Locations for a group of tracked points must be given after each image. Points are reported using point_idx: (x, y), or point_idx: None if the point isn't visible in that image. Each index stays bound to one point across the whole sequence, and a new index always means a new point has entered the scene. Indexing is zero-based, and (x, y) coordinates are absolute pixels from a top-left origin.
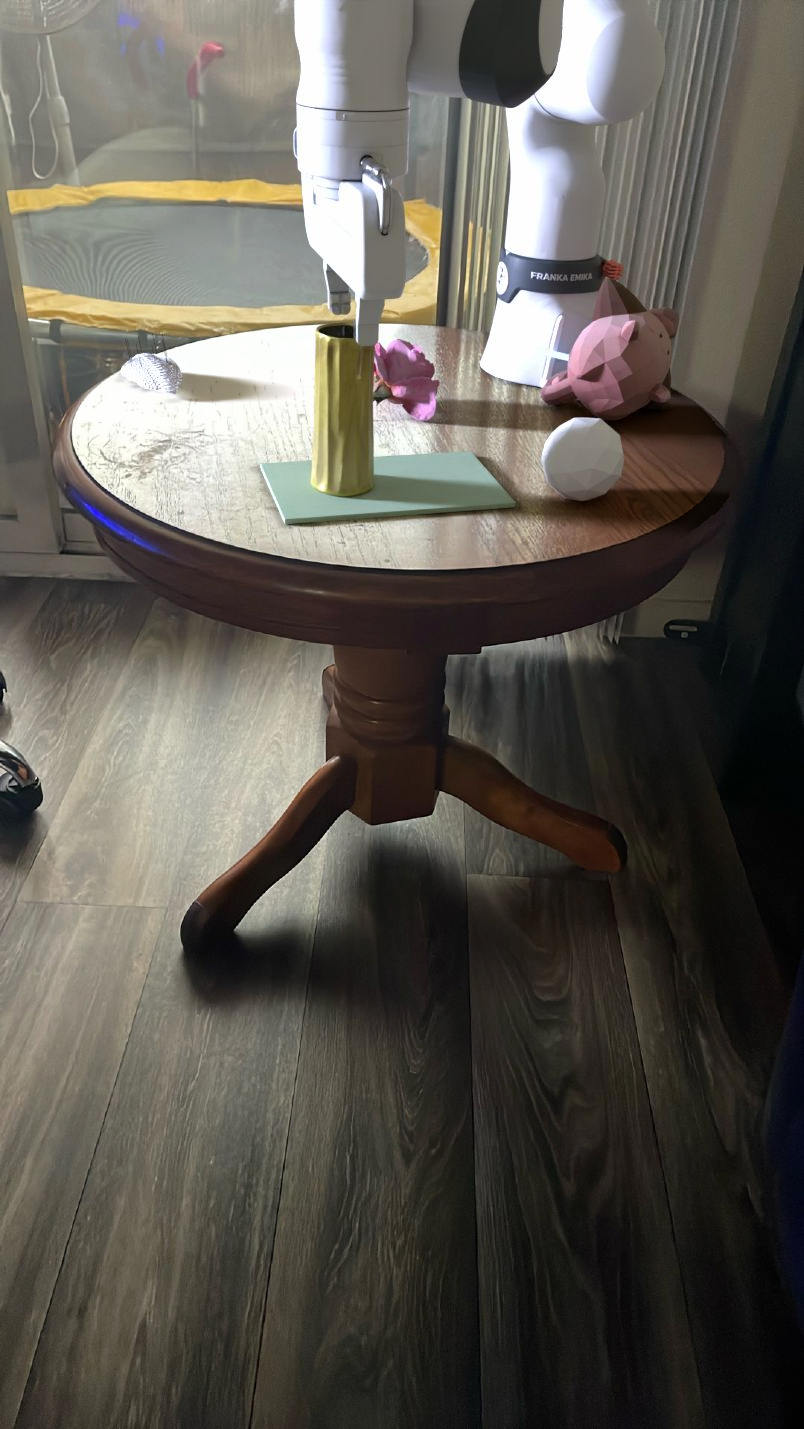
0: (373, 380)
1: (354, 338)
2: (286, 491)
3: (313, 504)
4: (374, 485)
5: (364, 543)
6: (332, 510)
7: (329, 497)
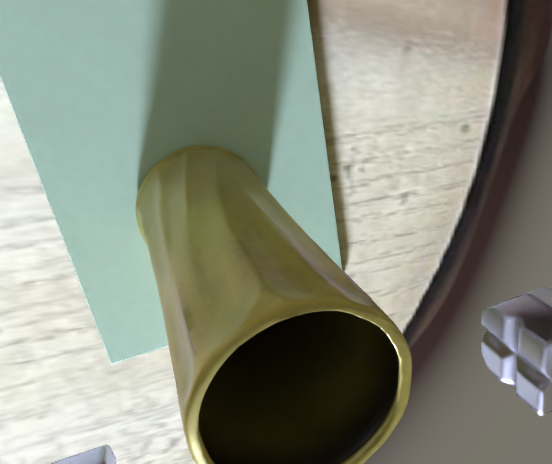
0: (279, 228)
1: (492, 366)
2: None
3: None
4: (202, 144)
5: (409, 162)
6: (316, 220)
7: None
